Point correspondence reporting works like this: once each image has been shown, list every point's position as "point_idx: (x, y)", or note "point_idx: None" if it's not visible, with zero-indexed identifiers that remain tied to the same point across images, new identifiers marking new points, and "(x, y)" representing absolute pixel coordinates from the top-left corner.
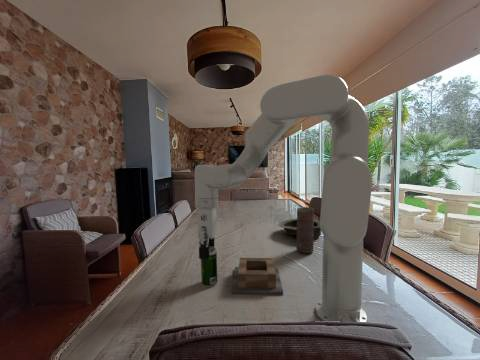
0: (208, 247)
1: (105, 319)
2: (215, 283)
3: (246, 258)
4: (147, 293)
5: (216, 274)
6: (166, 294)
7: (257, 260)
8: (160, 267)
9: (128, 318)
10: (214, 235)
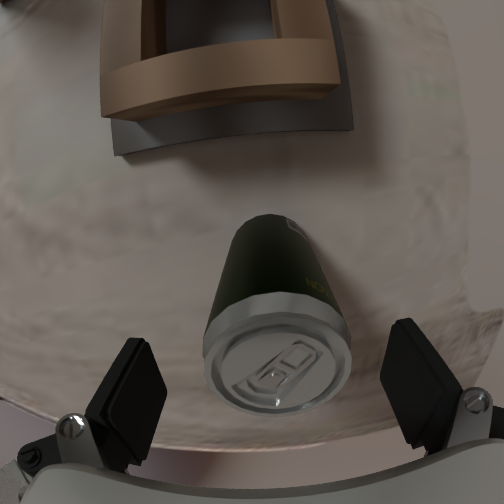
0: (454, 386)
1: None
2: (289, 219)
3: (107, 73)
4: (335, 404)
5: (281, 226)
6: None
7: (135, 7)
8: (186, 422)
9: None
10: (402, 491)
